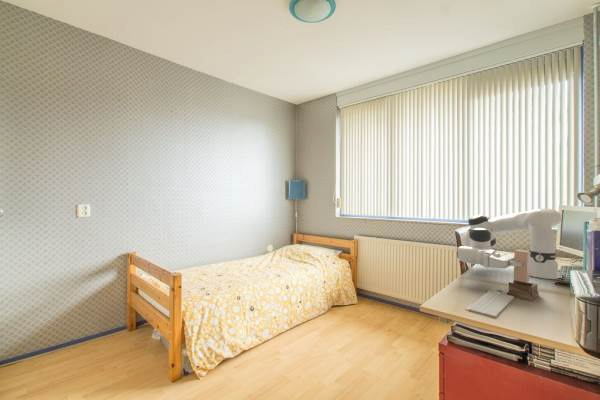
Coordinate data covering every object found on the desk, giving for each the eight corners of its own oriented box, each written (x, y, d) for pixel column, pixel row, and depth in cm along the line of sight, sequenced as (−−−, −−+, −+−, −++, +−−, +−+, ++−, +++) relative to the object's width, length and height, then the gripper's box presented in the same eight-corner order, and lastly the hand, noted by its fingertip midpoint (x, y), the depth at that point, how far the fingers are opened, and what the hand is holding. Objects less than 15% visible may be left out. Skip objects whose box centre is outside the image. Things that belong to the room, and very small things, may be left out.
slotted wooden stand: (515, 289, 146) (515, 278, 146) (538, 294, 139) (538, 283, 139) (506, 295, 138) (507, 283, 138) (530, 301, 131) (530, 288, 131)
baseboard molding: (461, 310, 121) (495, 320, 113) (461, 303, 121) (495, 312, 113) (484, 292, 143) (514, 299, 134) (484, 287, 143) (514, 293, 134)
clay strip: (516, 278, 142) (517, 249, 141) (529, 280, 138) (530, 251, 137) (513, 279, 139) (514, 250, 139) (526, 282, 135) (527, 252, 135)
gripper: (498, 261, 155) (530, 267, 144) (482, 267, 142) (517, 274, 131) (498, 249, 155) (531, 254, 144) (483, 254, 142) (517, 260, 131)
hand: (524, 263), depth 138 cm, fingers closed on clay strip, 4 cm apart
